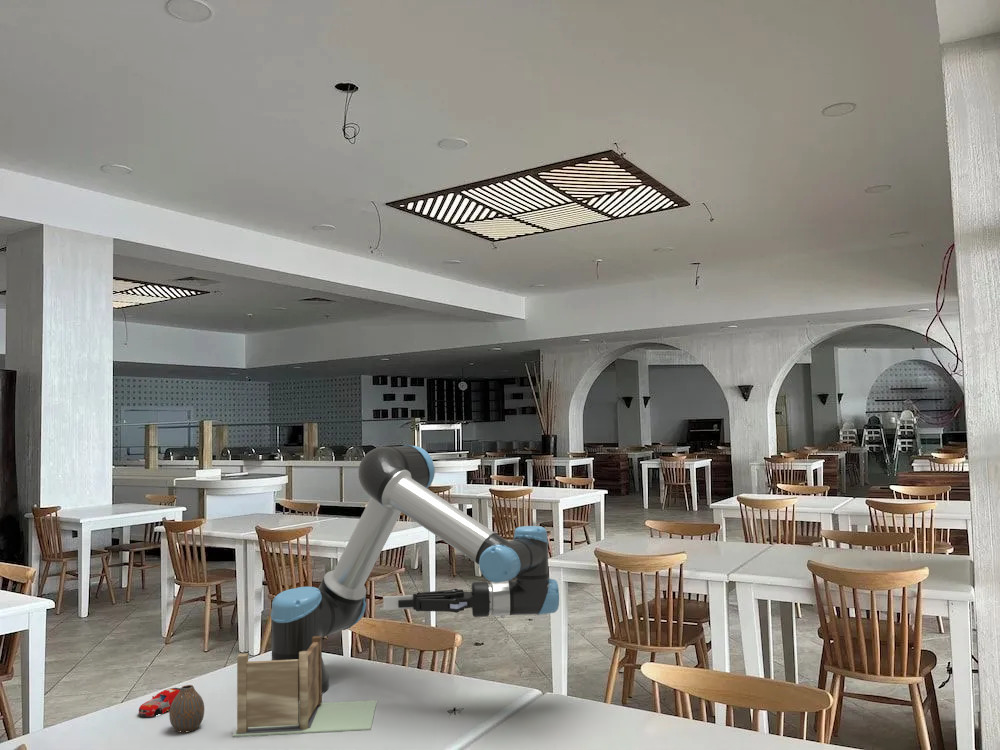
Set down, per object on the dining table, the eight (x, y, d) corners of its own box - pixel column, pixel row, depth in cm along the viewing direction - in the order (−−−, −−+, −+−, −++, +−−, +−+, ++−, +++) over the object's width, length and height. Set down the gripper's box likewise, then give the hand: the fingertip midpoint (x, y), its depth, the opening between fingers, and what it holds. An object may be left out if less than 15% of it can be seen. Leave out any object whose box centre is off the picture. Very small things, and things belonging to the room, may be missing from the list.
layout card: (252, 707, 178) (252, 706, 178) (376, 701, 180) (376, 699, 180) (232, 737, 161) (232, 735, 161) (370, 729, 163) (370, 727, 163)
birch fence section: (239, 730, 164) (239, 653, 165) (308, 726, 165) (308, 650, 166) (237, 733, 162) (237, 656, 163) (307, 729, 163) (307, 653, 164)
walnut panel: (309, 724, 165) (309, 652, 166) (300, 724, 165) (300, 652, 166) (322, 702, 178) (321, 635, 179) (314, 702, 178) (313, 636, 179)
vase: (183, 737, 161) (183, 694, 162) (162, 731, 165) (162, 688, 165) (211, 726, 167) (211, 684, 168) (190, 720, 171) (190, 679, 171)
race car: (148, 721, 172) (148, 703, 172) (132, 717, 174) (133, 699, 174) (198, 702, 183) (198, 684, 183) (182, 698, 186) (182, 681, 186)
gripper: (491, 623, 169) (381, 627, 167) (488, 609, 182) (385, 613, 180) (491, 587, 169) (381, 592, 168) (487, 576, 182) (385, 580, 181)
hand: (383, 603), depth 174 cm, fingers closed
